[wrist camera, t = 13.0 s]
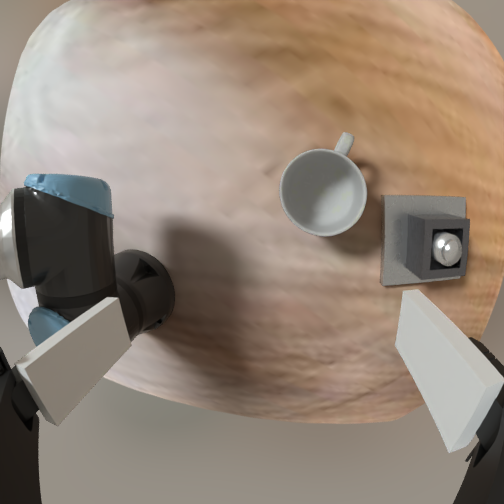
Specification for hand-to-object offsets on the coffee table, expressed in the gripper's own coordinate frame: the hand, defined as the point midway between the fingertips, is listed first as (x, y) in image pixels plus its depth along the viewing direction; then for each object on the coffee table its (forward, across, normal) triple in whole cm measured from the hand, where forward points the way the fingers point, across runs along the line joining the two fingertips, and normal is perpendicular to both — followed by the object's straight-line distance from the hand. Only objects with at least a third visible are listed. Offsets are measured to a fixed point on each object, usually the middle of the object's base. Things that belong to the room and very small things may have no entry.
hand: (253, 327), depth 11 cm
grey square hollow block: (+29, +24, -3) cm, 38 cm away
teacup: (+31, +7, +6) cm, 32 cm away
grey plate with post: (+31, +24, -3) cm, 39 cm away
